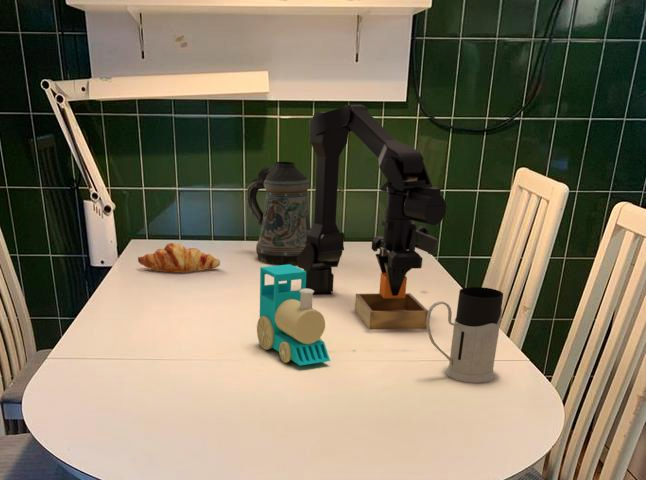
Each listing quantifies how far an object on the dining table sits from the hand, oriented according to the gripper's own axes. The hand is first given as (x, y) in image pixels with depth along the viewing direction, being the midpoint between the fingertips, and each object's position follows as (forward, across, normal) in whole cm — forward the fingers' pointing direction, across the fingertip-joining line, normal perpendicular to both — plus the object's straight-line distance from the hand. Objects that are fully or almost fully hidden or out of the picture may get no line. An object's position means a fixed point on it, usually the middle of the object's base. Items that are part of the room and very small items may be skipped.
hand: (392, 292), depth 174 cm
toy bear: (+1, 0, 0) cm, 1 cm away
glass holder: (+6, -33, -4) cm, 34 cm away
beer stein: (+6, +60, +16) cm, 62 cm away
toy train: (+6, -20, +24) cm, 32 cm away
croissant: (+6, +48, +44) cm, 65 cm away
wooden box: (+6, 0, 0) cm, 6 cm away
